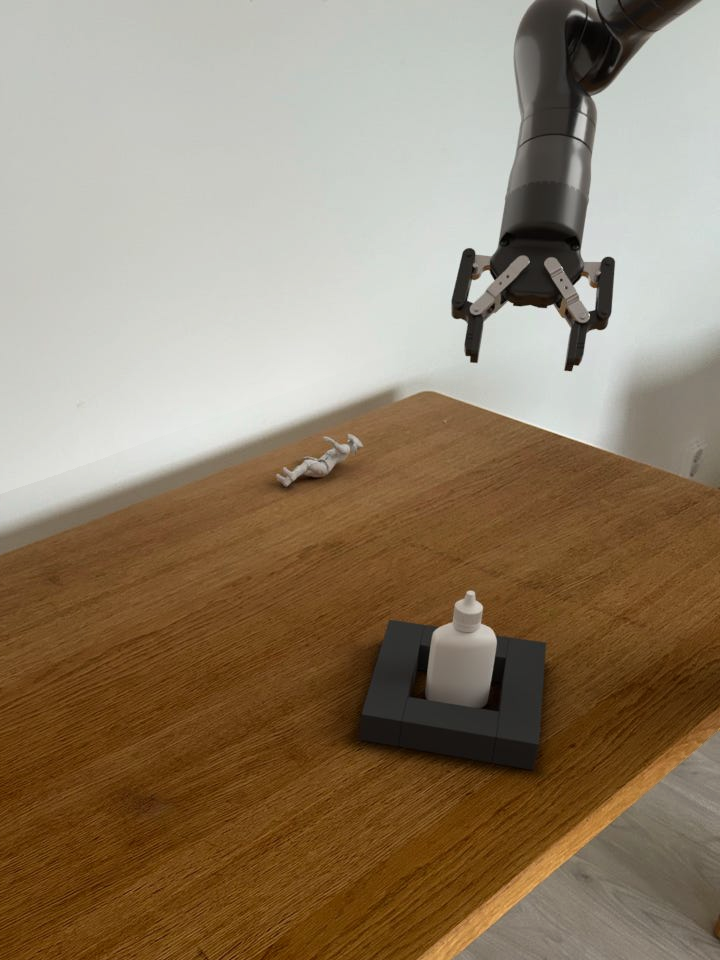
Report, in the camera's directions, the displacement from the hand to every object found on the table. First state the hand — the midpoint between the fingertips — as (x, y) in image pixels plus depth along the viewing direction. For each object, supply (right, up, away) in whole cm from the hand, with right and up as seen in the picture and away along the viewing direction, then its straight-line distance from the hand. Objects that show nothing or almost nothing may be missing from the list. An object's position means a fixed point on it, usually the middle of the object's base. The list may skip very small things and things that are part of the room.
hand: (521, 363), depth 93 cm
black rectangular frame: (-6, -31, +1) cm, 32 cm away
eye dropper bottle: (-6, -31, +1) cm, 32 cm away
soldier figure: (-16, -4, +39) cm, 42 cm away
